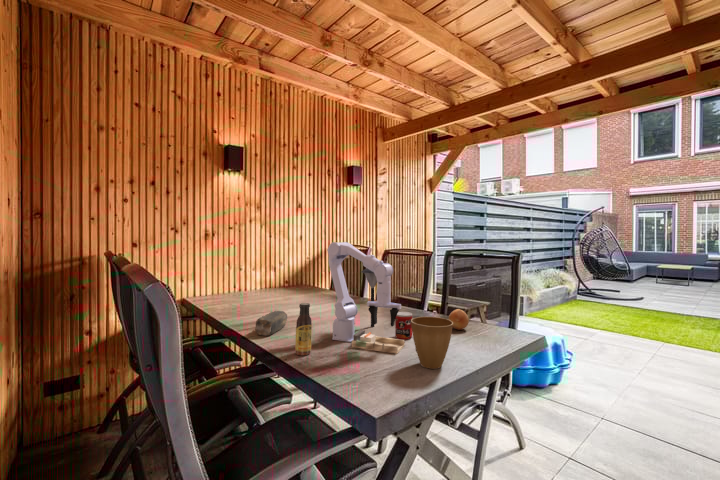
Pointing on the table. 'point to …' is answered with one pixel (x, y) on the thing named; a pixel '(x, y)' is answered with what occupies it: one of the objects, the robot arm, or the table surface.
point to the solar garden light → (371, 285)
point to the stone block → (271, 323)
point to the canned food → (403, 325)
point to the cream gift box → (368, 338)
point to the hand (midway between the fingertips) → (383, 324)
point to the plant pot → (431, 339)
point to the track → (378, 343)
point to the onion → (459, 319)
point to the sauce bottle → (303, 331)
